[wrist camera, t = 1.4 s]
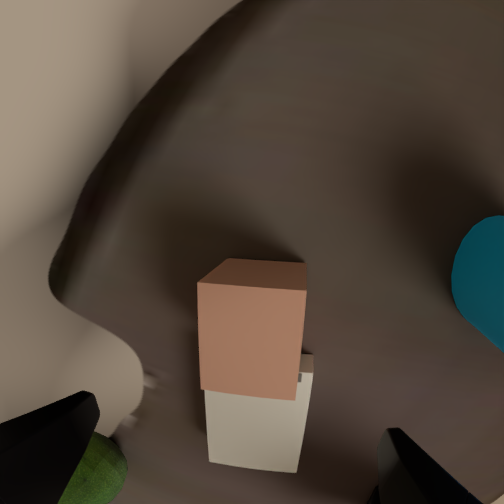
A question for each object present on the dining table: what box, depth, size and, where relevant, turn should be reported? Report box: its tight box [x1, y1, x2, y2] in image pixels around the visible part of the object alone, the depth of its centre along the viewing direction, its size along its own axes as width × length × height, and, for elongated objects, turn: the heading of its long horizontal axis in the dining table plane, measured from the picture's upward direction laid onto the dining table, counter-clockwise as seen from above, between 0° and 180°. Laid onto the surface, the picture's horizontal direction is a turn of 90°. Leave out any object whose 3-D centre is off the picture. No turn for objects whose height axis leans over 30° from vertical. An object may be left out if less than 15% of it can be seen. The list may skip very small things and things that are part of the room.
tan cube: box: [197, 258, 307, 401], centre depth 18 cm, size 6×5×6 cm
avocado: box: [58, 432, 128, 504], centre depth 21 cm, size 8×8×12 cm
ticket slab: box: [205, 354, 313, 473], centre depth 21 cm, size 10×7×3 cm
